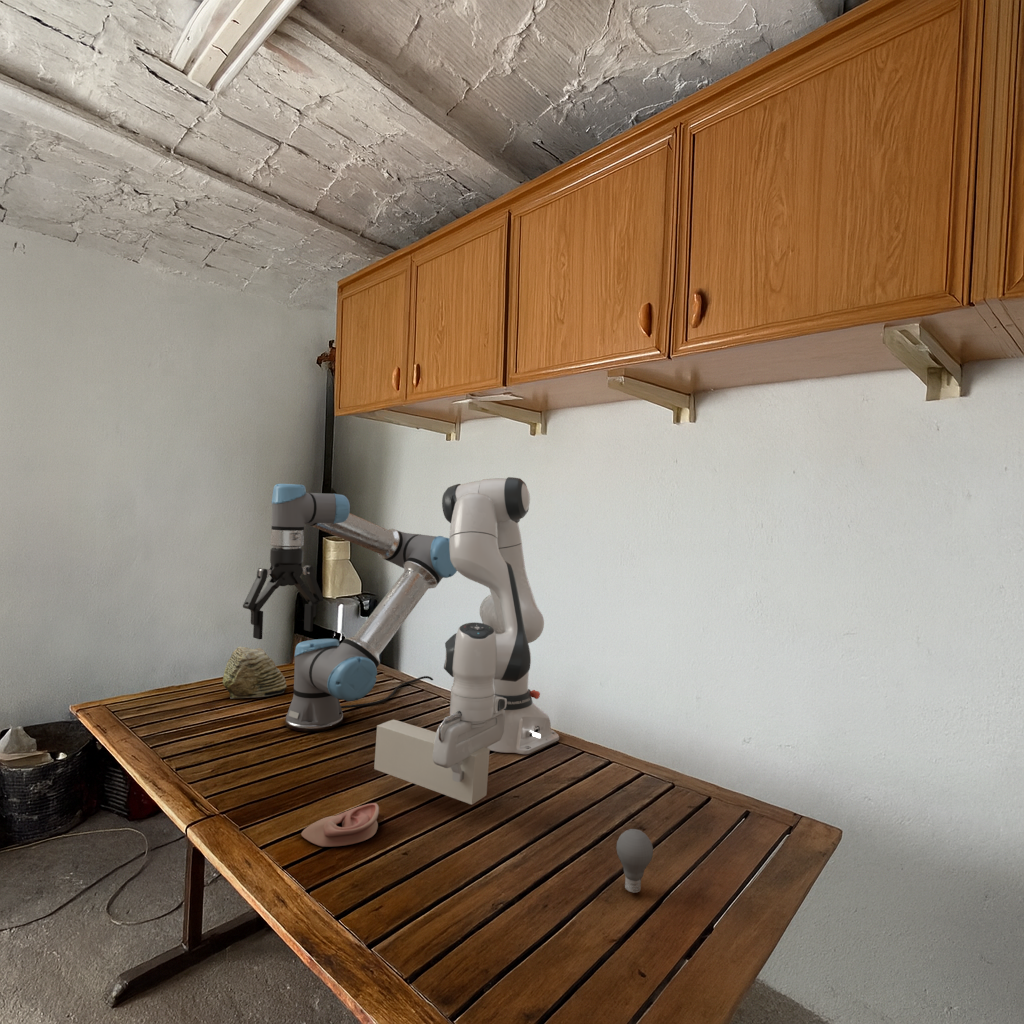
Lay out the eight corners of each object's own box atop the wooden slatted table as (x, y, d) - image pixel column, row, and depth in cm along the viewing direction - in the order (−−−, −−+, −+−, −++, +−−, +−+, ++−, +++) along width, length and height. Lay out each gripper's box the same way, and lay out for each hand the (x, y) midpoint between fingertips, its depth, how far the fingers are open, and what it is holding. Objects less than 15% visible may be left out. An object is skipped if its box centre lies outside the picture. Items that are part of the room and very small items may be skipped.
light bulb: (610, 879, 108) (613, 822, 108) (644, 879, 109) (647, 822, 109) (619, 902, 102) (622, 840, 102) (655, 901, 103) (658, 840, 103)
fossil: (218, 695, 195) (220, 647, 195) (278, 685, 208) (279, 640, 207) (228, 703, 189) (230, 653, 188) (289, 692, 201) (290, 645, 201)
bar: (374, 769, 136) (376, 725, 136) (390, 761, 141) (393, 719, 141) (471, 804, 123) (475, 756, 123) (486, 795, 128) (489, 748, 127)
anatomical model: (293, 820, 116) (324, 792, 127) (292, 842, 116) (323, 812, 127) (360, 831, 113) (386, 801, 124) (359, 853, 113) (385, 821, 124)
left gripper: (246, 550, 142) (242, 644, 142) (339, 547, 161) (336, 629, 162) (229, 547, 146) (226, 638, 147) (322, 544, 166) (318, 625, 166)
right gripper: (454, 723, 116) (449, 798, 116) (511, 697, 134) (507, 762, 134) (427, 715, 120) (422, 788, 120) (486, 691, 137) (482, 755, 137)
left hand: (283, 634), depth 154 cm, fingers open, 13 cm apart
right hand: (467, 774), depth 127 cm, fingers closed on bar, 5 cm apart
